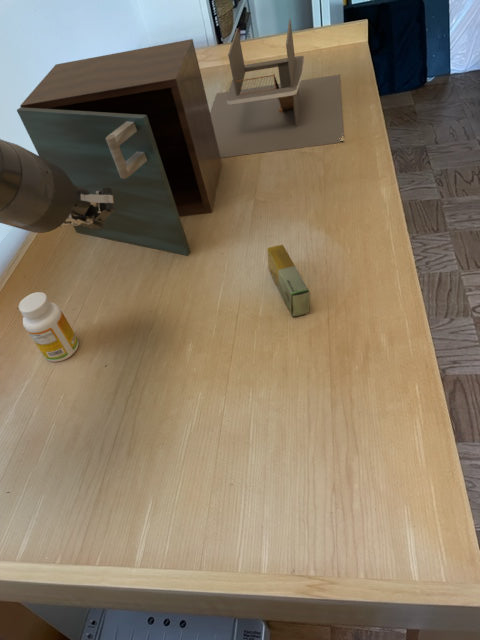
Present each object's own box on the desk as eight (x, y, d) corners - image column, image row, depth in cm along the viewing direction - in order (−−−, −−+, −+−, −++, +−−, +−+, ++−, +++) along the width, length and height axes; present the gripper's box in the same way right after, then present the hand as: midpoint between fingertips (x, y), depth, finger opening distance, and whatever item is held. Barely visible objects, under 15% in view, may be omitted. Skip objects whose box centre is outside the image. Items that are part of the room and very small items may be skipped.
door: (170, 275, 87) (119, 136, 70) (57, 248, 99) (-8, 125, 83) (191, 252, 90) (146, 114, 74) (79, 229, 103) (20, 107, 86)
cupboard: (212, 213, 98) (175, 78, 81) (79, 229, 103) (19, 105, 86) (222, 164, 111) (192, 38, 94) (103, 180, 116) (55, 64, 99)
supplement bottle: (65, 331, 82) (37, 283, 76) (86, 343, 79) (59, 295, 73) (37, 354, 80) (5, 307, 73) (58, 368, 77) (26, 320, 70)
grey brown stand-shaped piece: (339, 74, 132) (335, -3, 120) (344, 141, 107) (339, 53, 96) (216, 93, 138) (201, 22, 127) (194, 161, 114) (172, 80, 102)
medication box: (310, 313, 75) (310, 292, 72) (292, 318, 74) (291, 296, 72) (283, 263, 83) (282, 242, 81) (267, 267, 83) (265, 246, 80)
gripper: (76, 140, 51) (143, 184, 68) (-45, 159, 54) (49, 198, 71) (82, 218, 51) (148, 243, 68) (-39, 233, 54) (53, 254, 71)
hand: (97, 220), depth 69 cm, fingers closed
